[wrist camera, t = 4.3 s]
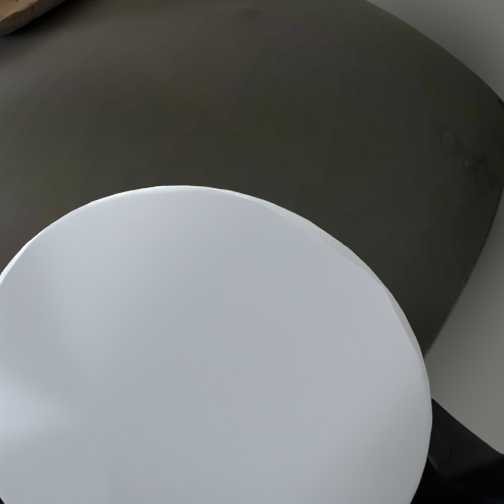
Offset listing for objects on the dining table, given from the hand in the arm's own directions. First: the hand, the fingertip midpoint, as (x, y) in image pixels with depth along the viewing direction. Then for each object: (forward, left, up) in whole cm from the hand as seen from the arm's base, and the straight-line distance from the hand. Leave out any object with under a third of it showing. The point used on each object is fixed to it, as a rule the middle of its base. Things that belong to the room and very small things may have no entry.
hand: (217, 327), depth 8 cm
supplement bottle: (-1, 0, -7) cm, 7 cm away
